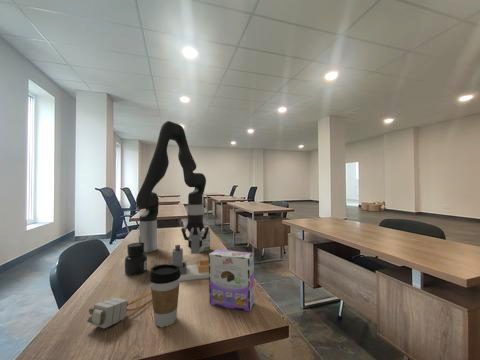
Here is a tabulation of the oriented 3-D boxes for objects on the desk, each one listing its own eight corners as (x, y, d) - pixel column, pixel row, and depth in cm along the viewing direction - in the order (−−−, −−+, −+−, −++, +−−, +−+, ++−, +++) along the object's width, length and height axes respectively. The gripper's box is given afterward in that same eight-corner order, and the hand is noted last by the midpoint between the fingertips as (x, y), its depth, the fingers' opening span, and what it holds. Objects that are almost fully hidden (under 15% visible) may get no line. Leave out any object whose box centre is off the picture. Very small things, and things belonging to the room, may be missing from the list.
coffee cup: (154, 312, 68) (154, 263, 68) (183, 311, 68) (182, 261, 68) (145, 331, 59) (145, 274, 59) (178, 329, 60) (177, 273, 60)
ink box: (209, 248, 131) (208, 228, 131) (210, 251, 126) (210, 230, 126) (194, 249, 129) (194, 229, 129) (194, 252, 124) (194, 231, 124)
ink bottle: (151, 271, 98) (150, 244, 98) (130, 278, 92) (129, 249, 92) (141, 266, 105) (141, 240, 105) (121, 271, 98) (121, 244, 98)
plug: (191, 253, 109) (191, 231, 109) (191, 251, 112) (191, 229, 112) (199, 253, 109) (199, 230, 109) (199, 250, 113) (199, 229, 113)
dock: (162, 282, 87) (162, 250, 87) (165, 270, 99) (165, 242, 99) (221, 276, 93) (220, 246, 93) (217, 265, 104) (217, 239, 104)
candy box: (254, 302, 73) (254, 252, 73) (249, 312, 67) (249, 258, 67) (216, 295, 77) (215, 248, 77) (208, 304, 72) (208, 253, 72)
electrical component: (149, 299, 82) (151, 284, 83) (163, 302, 80) (164, 286, 81) (85, 325, 60) (89, 305, 61) (102, 330, 58) (105, 309, 59)
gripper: (209, 211, 116) (208, 244, 116) (180, 212, 113) (180, 246, 113) (210, 214, 109) (210, 249, 109) (180, 214, 106) (179, 251, 106)
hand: (195, 247), depth 111 cm, fingers closed on plug, 4 cm apart
